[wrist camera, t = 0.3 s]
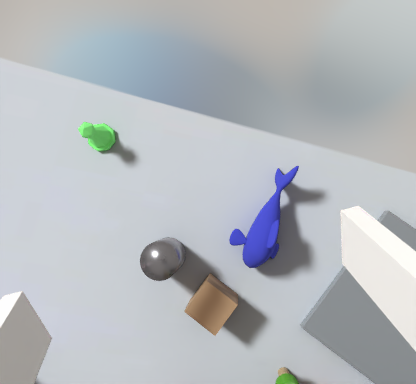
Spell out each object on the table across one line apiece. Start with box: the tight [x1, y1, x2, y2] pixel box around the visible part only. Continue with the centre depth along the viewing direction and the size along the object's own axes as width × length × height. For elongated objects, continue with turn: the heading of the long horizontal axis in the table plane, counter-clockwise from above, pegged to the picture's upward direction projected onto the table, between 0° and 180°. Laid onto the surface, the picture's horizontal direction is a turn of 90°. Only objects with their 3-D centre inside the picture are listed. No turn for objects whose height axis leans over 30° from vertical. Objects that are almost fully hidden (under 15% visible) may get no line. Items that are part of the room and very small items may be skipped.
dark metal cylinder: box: [140, 237, 186, 281], centre depth 43 cm, size 5×5×6 cm
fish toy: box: [230, 166, 299, 268], centre depth 42 cm, size 15×8×7 cm, turn 159°
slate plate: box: [301, 211, 416, 384], centre depth 42 cm, size 16×20×1 cm
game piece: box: [78, 122, 115, 151], centre depth 45 cm, size 4×4×6 cm
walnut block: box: [184, 273, 238, 335], centre depth 43 cm, size 5×5×5 cm
